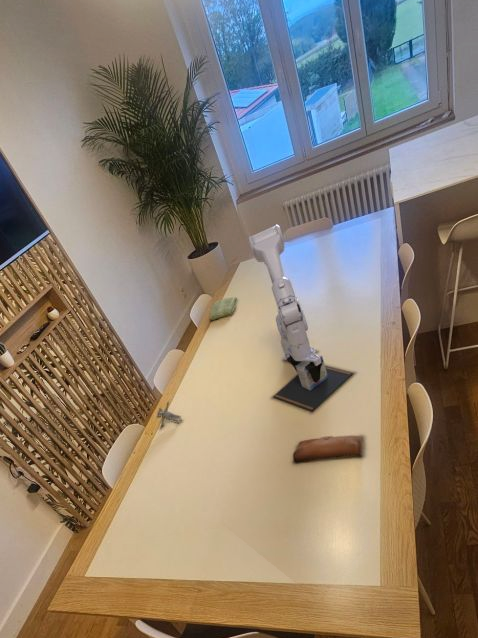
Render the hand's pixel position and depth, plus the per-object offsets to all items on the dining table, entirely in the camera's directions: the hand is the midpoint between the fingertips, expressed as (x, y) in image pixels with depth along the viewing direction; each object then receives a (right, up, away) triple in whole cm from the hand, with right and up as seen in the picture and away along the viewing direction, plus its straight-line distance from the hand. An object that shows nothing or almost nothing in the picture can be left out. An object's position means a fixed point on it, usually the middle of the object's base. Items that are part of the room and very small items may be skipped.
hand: (309, 377), depth 133 cm
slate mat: (+1, -2, +2) cm, 4 cm away
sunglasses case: (+2, -25, -20) cm, 32 cm away
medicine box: (+2, -1, +3) cm, 4 cm away
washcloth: (-30, +48, +72) cm, 92 cm away
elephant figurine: (-47, -12, +19) cm, 52 cm away
